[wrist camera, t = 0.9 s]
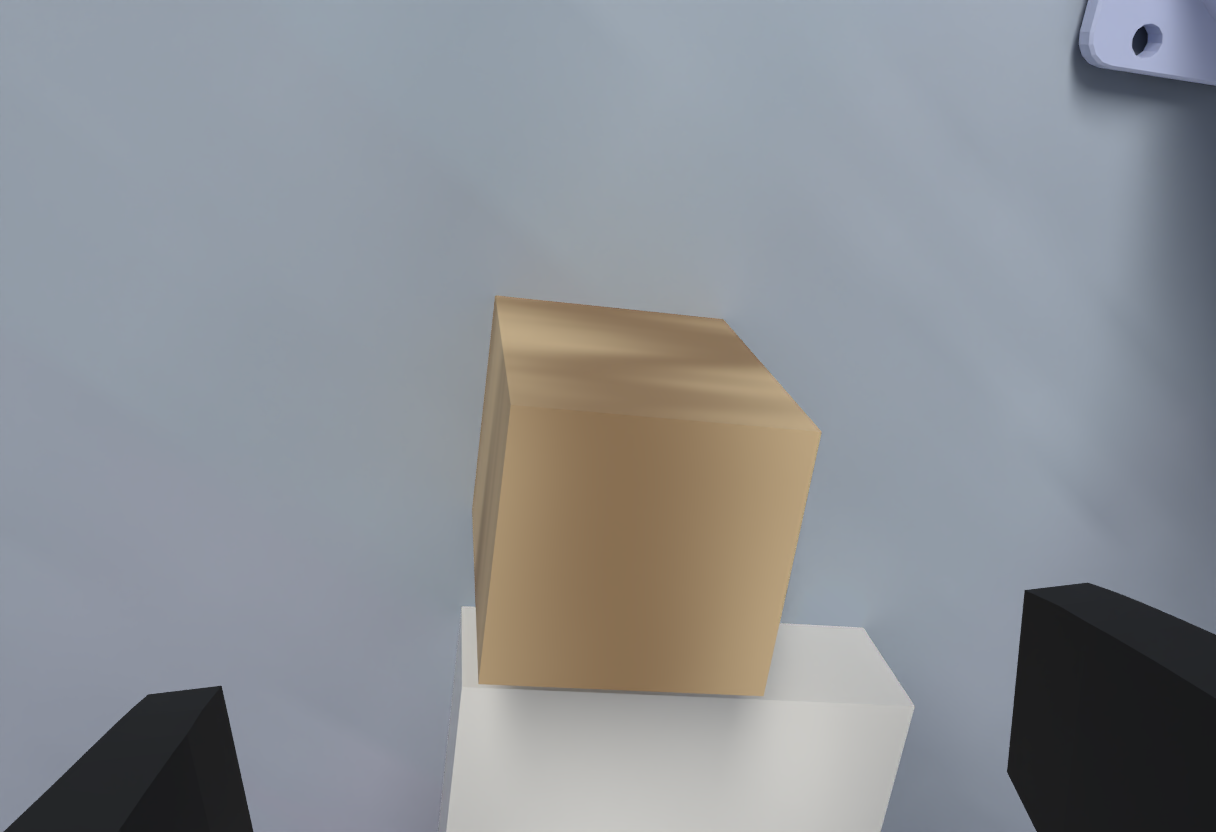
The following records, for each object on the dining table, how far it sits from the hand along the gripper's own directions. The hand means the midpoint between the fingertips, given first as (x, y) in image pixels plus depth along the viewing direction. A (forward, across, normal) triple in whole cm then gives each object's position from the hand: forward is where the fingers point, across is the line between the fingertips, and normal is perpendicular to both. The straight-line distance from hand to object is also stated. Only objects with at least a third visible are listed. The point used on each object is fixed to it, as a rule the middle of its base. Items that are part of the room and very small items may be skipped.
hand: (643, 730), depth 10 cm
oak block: (+10, -1, +1) cm, 10 cm away
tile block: (+10, -1, +9) cm, 14 cm away
